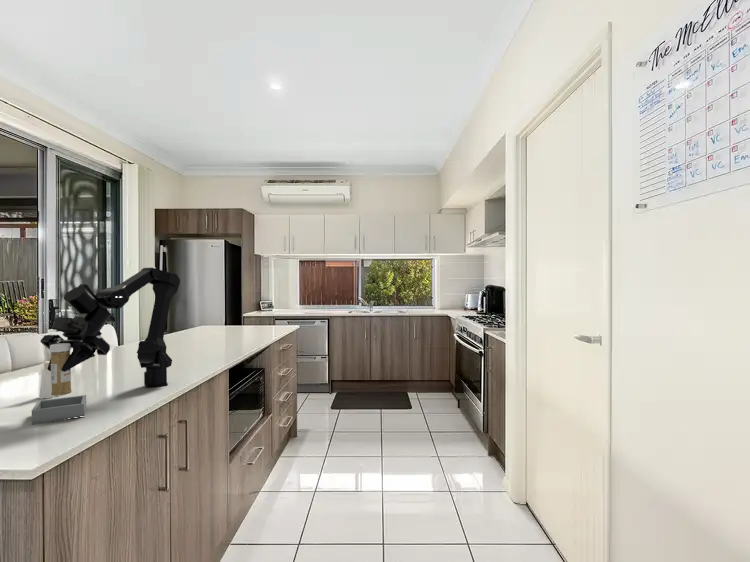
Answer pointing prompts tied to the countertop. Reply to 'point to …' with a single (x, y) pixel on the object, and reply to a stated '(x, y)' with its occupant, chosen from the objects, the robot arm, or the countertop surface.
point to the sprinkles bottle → (58, 377)
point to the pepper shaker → (46, 383)
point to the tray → (58, 409)
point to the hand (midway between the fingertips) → (55, 370)
